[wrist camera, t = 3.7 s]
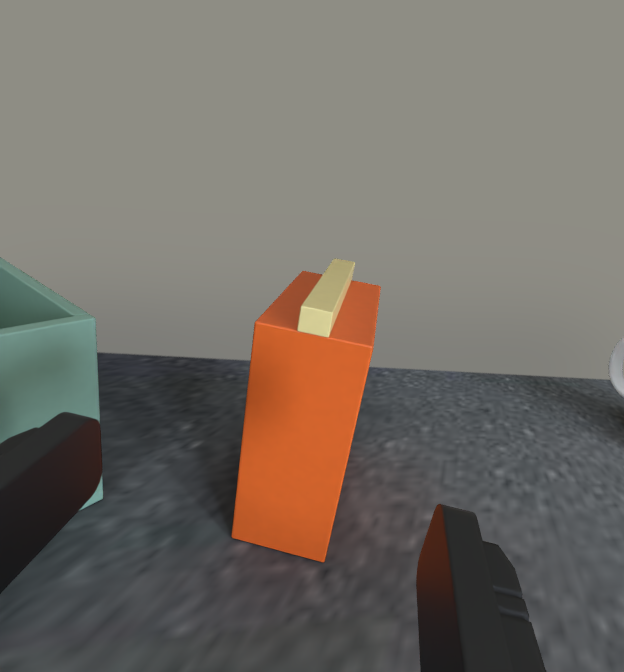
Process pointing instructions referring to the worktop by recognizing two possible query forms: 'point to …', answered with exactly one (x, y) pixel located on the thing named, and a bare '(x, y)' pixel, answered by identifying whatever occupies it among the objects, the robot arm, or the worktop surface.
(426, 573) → the robot arm
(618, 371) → the mug
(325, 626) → the worktop surface
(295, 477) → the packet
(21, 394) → the bin
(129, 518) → the worktop surface
